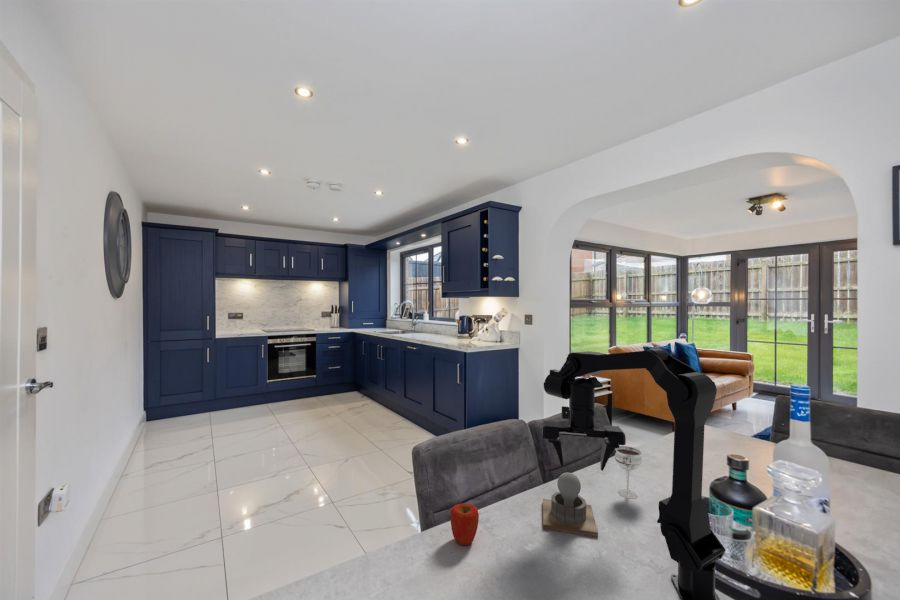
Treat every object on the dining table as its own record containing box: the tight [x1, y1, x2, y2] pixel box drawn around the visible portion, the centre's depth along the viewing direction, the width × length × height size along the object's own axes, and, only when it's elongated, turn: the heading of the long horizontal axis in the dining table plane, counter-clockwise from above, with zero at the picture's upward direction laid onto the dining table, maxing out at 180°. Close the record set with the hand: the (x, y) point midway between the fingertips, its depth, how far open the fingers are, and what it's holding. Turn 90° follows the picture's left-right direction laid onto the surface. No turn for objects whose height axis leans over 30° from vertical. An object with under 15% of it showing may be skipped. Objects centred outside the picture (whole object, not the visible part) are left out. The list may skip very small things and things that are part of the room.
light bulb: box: [557, 471, 582, 507], centre depth 93 cm, size 5×6×10 cm
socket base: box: [542, 491, 599, 538], centre depth 93 cm, size 12×12×4 cm
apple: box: [449, 502, 480, 546], centre depth 83 cm, size 6×6×8 cm
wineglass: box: [614, 445, 643, 499], centre depth 105 cm, size 7×7×12 cm
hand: (581, 467), depth 92 cm, fingers open, 9 cm apart
